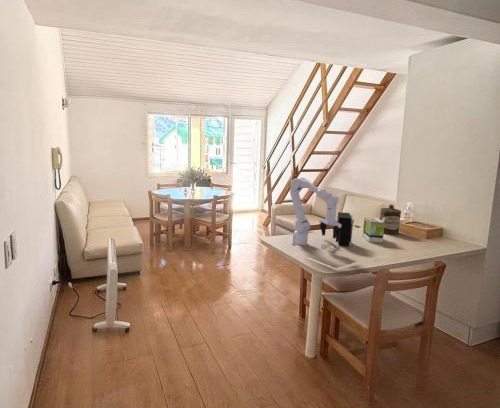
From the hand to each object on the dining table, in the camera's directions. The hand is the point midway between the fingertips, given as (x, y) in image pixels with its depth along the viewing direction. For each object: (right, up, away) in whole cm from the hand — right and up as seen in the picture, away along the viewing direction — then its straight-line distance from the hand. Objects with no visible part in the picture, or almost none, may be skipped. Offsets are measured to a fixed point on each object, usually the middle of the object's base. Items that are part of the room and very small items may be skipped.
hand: (328, 236), depth 214 cm
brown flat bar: (+2, -6, +5) cm, 8 cm away
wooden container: (+59, -2, +57) cm, 83 cm away
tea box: (+39, -6, +35) cm, 52 cm away
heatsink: (+2, -9, +5) cm, 11 cm away
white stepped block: (+1, -9, -1) cm, 9 cm away
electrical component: (+14, -7, +20) cm, 25 cm away
